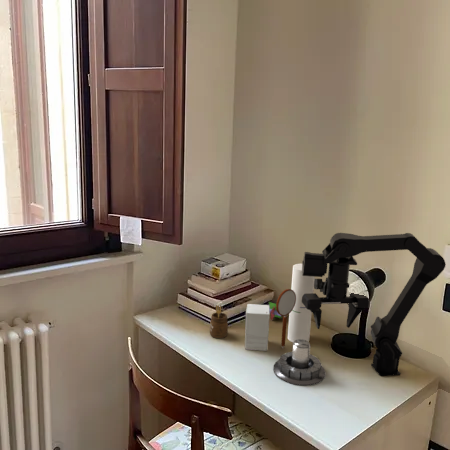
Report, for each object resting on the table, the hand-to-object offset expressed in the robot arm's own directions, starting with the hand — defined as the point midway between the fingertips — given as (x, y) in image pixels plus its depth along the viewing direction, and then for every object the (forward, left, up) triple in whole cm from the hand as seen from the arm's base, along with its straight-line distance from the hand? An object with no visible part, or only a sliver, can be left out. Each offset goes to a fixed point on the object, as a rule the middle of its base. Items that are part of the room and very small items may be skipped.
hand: (333, 327), depth 151 cm
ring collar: (+10, +2, -12) cm, 16 cm away
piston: (+10, +2, -12) cm, 16 cm away
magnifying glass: (+11, -12, -13) cm, 21 cm away
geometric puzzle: (+8, -34, -13) cm, 37 cm away
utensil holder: (+30, -23, -13) cm, 40 cm away
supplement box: (+19, -15, -13) cm, 27 cm away
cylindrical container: (+4, -18, -13) cm, 22 cm away
